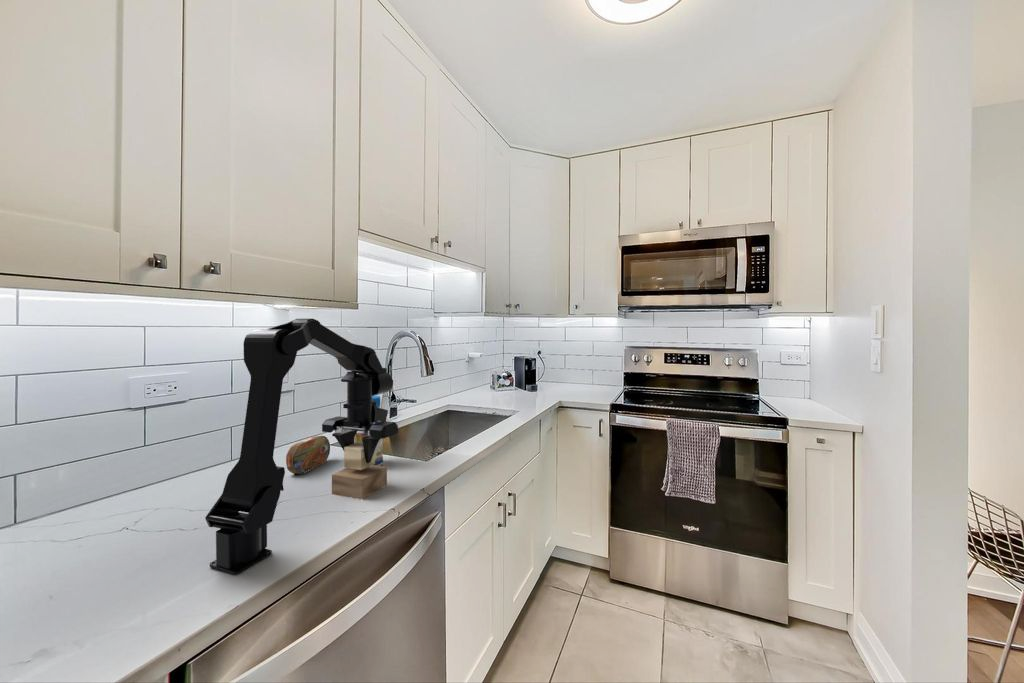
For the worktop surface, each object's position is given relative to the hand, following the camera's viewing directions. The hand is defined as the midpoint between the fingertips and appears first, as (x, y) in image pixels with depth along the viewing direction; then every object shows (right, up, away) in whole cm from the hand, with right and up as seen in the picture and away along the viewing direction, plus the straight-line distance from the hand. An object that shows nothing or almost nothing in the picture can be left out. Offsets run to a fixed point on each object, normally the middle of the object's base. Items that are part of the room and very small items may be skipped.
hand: (359, 461), depth 95 cm
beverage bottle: (-4, -7, +18) cm, 19 cm away
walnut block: (0, -7, 0) cm, 7 cm away
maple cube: (0, -1, 0) cm, 1 cm away
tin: (-20, -7, +15) cm, 26 cm away
